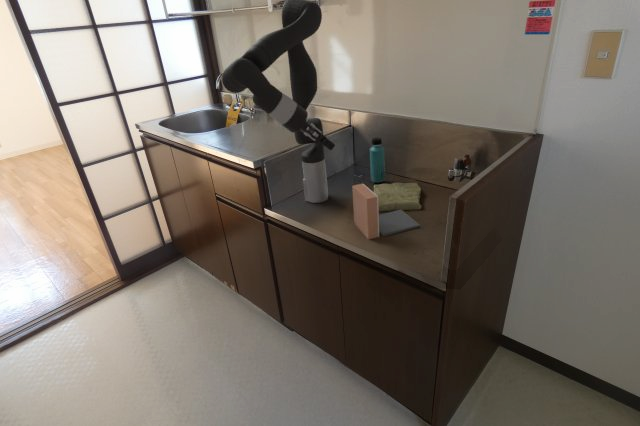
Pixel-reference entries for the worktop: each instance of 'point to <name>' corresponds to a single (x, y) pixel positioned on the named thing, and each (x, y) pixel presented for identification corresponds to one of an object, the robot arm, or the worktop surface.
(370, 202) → the terracotta tile
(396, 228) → the mat
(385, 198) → the decorative tile
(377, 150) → the beverage bottle
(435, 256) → the worktop surface
